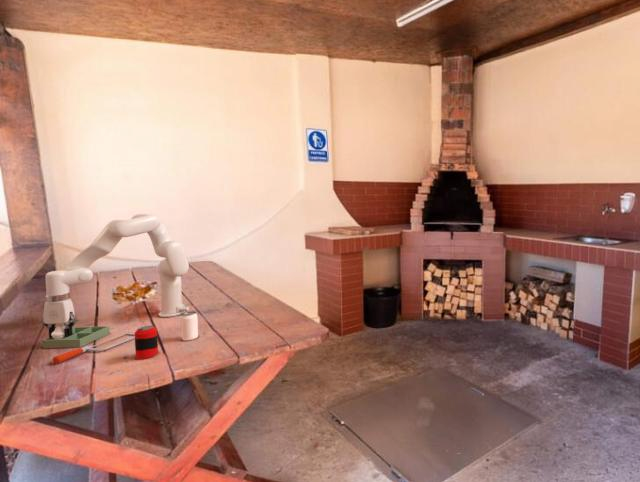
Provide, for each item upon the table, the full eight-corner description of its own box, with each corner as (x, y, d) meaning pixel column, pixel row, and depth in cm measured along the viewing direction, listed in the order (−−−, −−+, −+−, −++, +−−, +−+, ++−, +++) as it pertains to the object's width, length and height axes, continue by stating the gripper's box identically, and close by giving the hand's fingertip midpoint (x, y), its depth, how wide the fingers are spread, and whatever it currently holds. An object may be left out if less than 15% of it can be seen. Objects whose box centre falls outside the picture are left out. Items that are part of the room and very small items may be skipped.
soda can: (131, 357, 164) (130, 330, 163) (150, 350, 171) (149, 323, 170) (143, 360, 161) (141, 332, 161) (162, 353, 168) (161, 326, 168)
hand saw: (125, 329, 191) (144, 330, 190) (125, 336, 191) (144, 336, 190) (51, 356, 158) (73, 357, 158) (51, 364, 158) (73, 365, 158)
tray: (109, 333, 191) (109, 326, 191) (80, 347, 175) (79, 339, 175) (75, 334, 191) (75, 327, 190) (42, 348, 174) (42, 340, 174)
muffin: (69, 336, 183) (68, 321, 183) (71, 339, 179) (70, 324, 179) (50, 340, 178) (49, 325, 178) (52, 344, 174) (51, 328, 174)
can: (185, 342, 180) (184, 316, 179) (179, 339, 183) (178, 314, 183) (200, 337, 185) (199, 312, 185) (194, 334, 189) (193, 310, 188)
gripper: (30, 300, 174) (32, 340, 175) (70, 299, 174) (73, 339, 175) (47, 295, 181) (49, 333, 182) (85, 295, 182) (87, 332, 183)
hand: (61, 336), depth 179 cm, fingers closed on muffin, 6 cm apart
